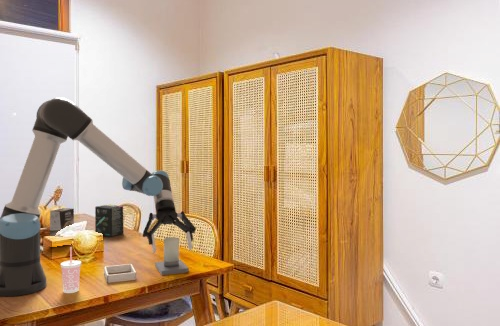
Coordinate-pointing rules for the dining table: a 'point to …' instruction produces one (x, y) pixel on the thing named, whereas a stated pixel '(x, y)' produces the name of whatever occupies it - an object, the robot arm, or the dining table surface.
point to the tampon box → (109, 220)
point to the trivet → (171, 268)
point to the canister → (171, 252)
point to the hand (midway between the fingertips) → (173, 249)
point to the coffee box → (60, 219)
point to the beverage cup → (71, 274)
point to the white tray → (119, 276)
